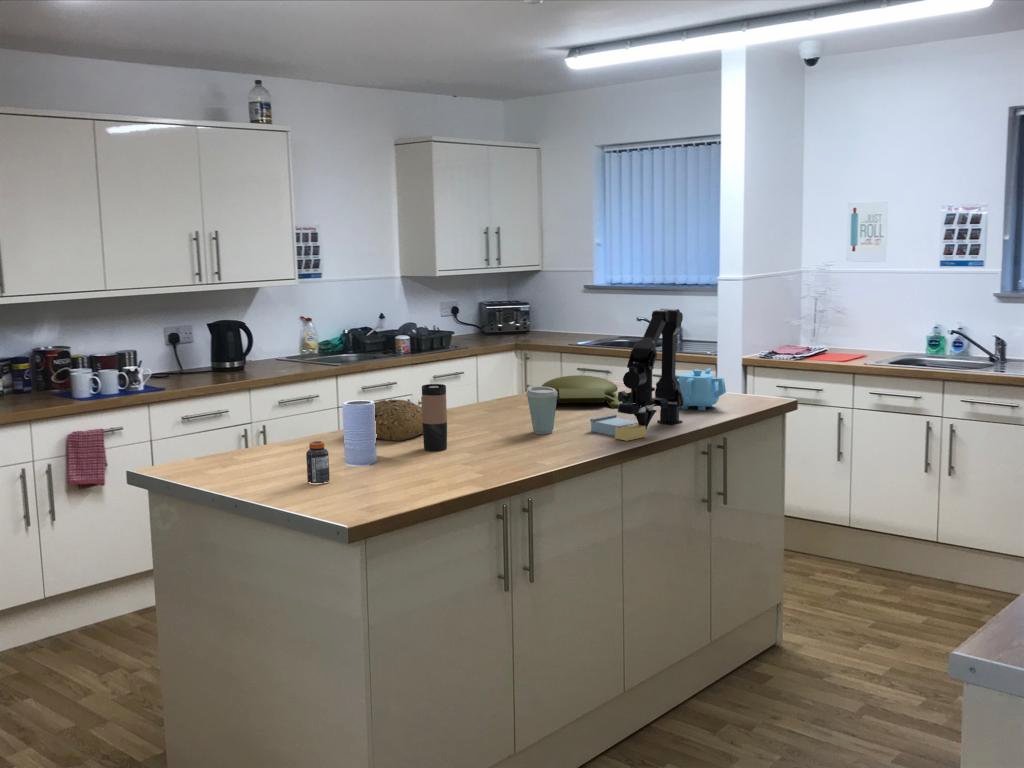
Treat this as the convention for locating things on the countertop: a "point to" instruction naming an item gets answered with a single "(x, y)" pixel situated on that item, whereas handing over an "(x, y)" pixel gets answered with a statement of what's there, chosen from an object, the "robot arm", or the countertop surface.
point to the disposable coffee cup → (542, 408)
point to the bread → (397, 420)
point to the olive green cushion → (584, 390)
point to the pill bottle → (317, 463)
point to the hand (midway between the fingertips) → (643, 431)
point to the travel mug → (434, 417)
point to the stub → (630, 432)
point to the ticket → (609, 424)
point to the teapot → (700, 389)
